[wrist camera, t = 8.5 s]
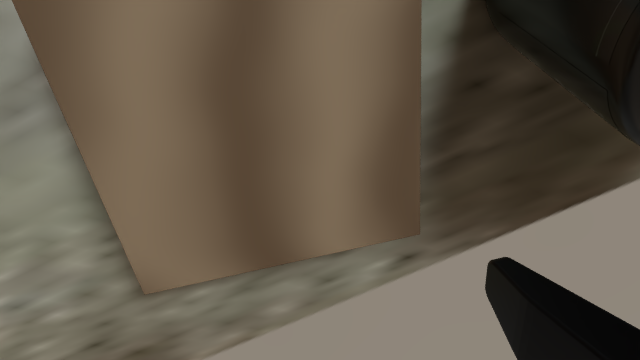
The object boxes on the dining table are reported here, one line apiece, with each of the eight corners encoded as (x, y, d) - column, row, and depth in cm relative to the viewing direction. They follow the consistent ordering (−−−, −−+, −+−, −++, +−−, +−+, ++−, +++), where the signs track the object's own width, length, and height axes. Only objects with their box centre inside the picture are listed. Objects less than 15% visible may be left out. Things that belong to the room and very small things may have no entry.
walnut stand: (390, -77, 17) (421, -70, 14) (397, 196, 23) (420, 234, 21) (40, -26, 16) (8, -8, 13) (151, 248, 22) (144, 294, 20)
